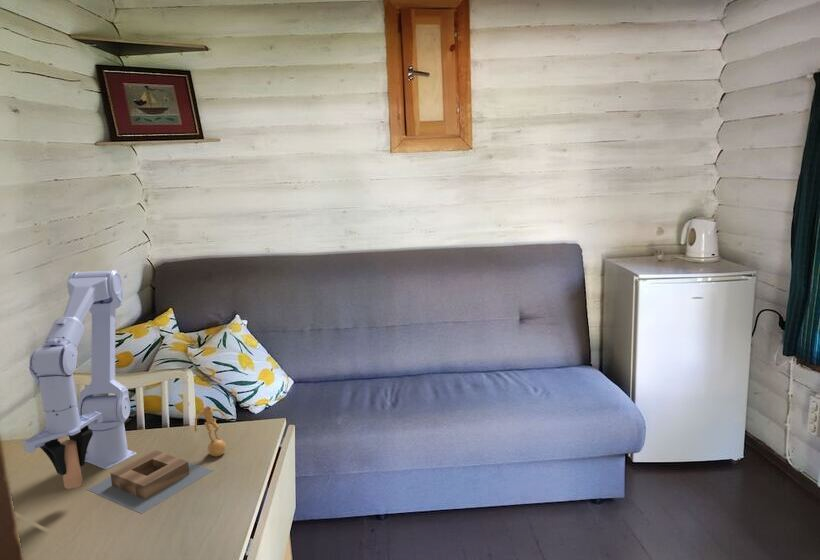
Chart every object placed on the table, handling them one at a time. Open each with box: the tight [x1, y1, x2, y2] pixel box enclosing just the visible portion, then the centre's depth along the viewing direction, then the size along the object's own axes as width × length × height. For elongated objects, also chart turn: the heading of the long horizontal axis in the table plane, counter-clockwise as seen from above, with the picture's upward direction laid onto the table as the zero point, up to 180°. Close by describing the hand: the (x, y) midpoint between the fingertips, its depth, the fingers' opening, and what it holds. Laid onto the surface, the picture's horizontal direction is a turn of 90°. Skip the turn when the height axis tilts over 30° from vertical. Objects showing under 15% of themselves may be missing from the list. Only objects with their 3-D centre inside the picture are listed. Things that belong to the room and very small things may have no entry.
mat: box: [86, 461, 214, 515], centre depth 129 cm, size 18×18×1 cm
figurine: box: [194, 405, 228, 458], centre depth 139 cm, size 8×6×12 cm
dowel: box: [60, 439, 84, 490], centre depth 119 cm, size 3×3×9 cm
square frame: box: [109, 449, 189, 500], centre depth 128 cm, size 11×11×3 cm
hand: (71, 468), depth 119 cm, fingers closed on dowel, 3 cm apart
